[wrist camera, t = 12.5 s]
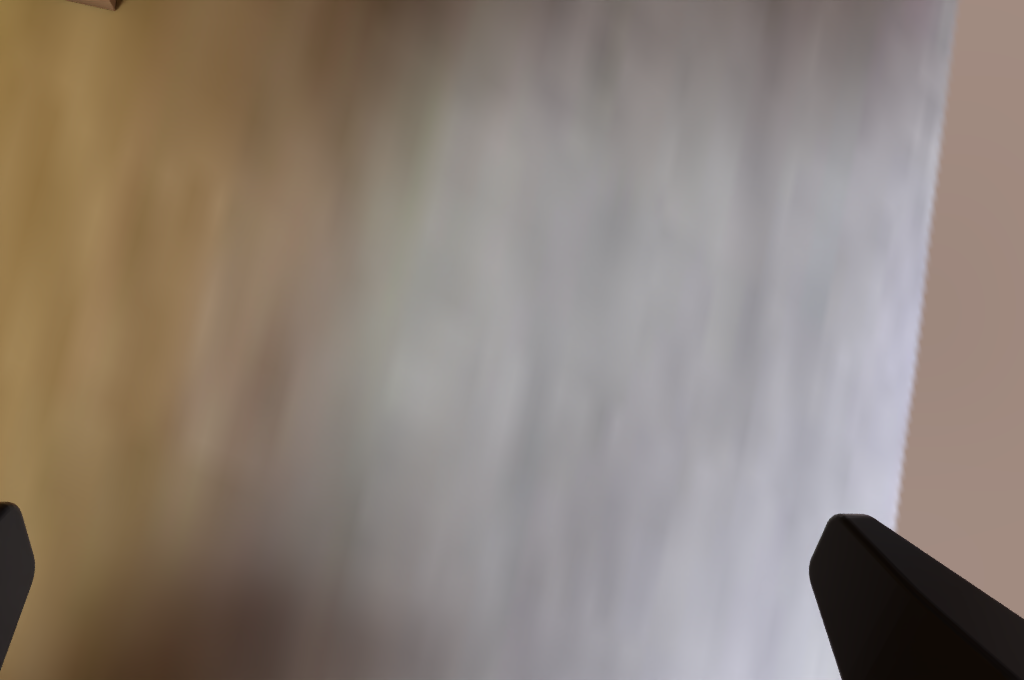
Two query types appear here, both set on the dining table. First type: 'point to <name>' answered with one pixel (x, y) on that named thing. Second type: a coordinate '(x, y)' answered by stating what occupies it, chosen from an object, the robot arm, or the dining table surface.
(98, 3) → the square frame with bar
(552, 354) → the dining table surface
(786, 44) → the dining table surface
